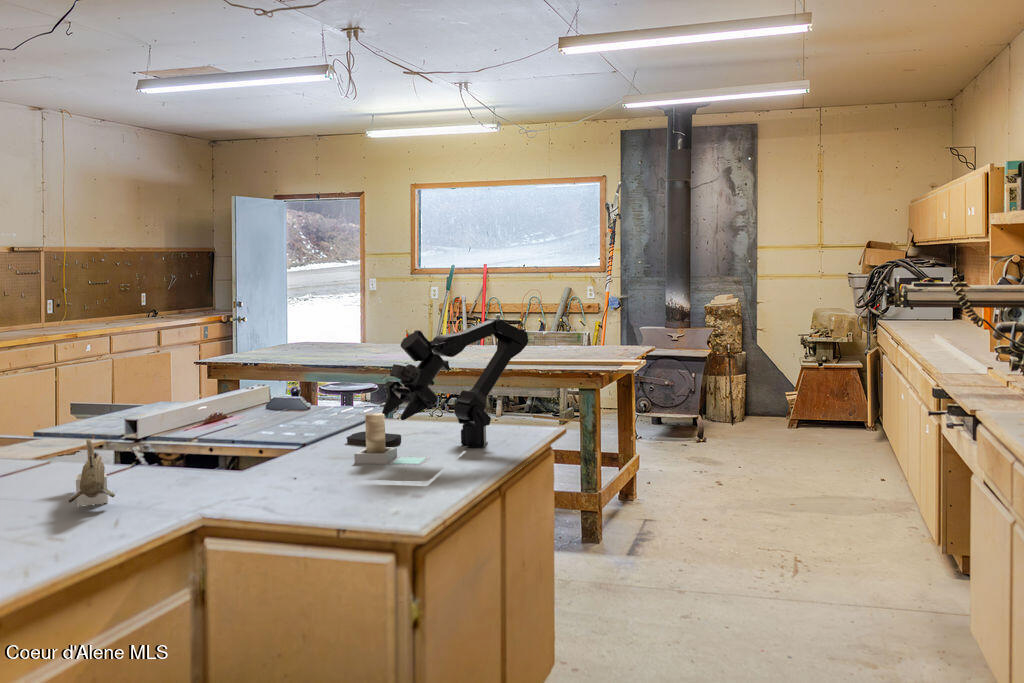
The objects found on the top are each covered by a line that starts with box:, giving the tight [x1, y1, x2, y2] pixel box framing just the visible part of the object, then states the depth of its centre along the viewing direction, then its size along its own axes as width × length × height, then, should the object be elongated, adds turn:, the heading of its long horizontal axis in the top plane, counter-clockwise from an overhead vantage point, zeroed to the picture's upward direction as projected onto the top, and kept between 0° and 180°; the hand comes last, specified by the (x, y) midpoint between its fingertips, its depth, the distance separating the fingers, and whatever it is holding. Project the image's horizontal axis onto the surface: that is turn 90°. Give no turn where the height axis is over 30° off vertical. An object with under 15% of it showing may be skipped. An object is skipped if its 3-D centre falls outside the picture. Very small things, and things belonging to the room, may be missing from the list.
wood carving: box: [68, 438, 116, 506], centre depth 185 cm, size 9×35×11 cm, turn 27°
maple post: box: [364, 412, 386, 453], centre depth 216 cm, size 5×5×12 cm
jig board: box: [353, 446, 431, 466], centre depth 216 cm, size 18×9×4 cm, turn 79°
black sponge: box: [345, 430, 402, 447], centre depth 239 cm, size 16×8×4 cm, turn 60°
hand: (392, 417), depth 219 cm, fingers open, 9 cm apart
